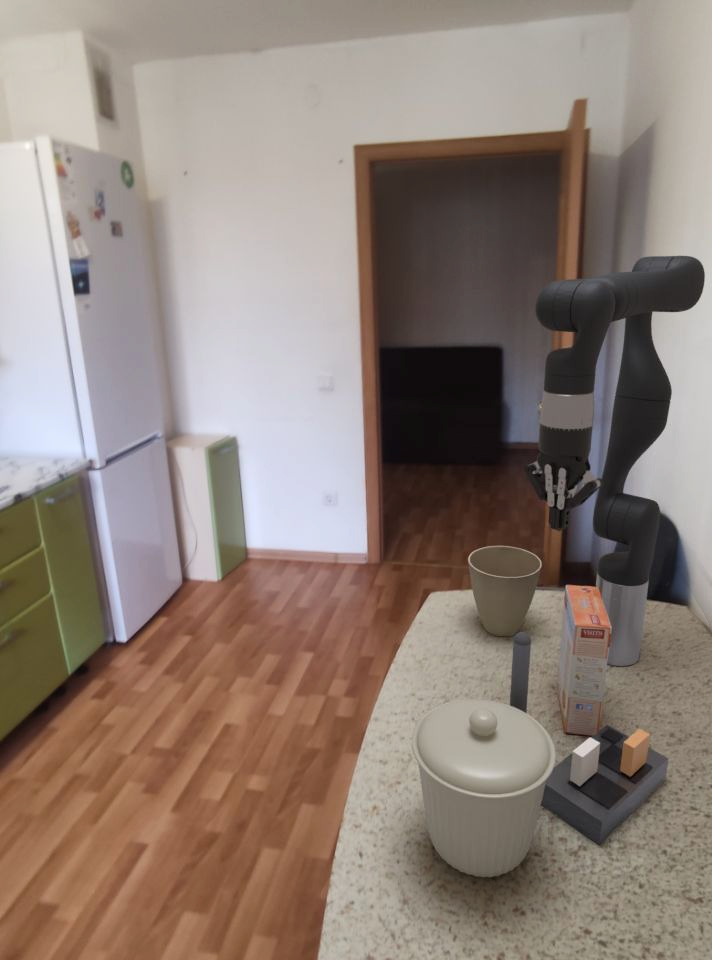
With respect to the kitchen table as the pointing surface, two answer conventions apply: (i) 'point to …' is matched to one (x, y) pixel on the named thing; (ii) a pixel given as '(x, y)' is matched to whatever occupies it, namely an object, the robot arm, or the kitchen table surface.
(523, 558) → the plant pot
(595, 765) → the white rectangular block
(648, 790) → the panel
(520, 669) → the stand
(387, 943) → the kitchen table surface
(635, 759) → the block
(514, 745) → the canister
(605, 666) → the cracker box
